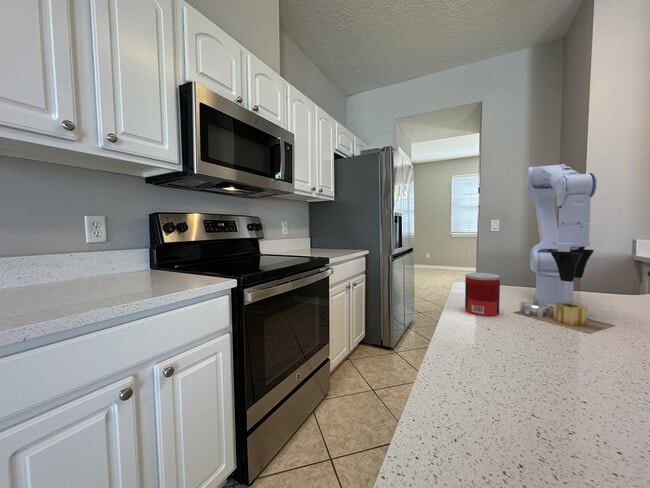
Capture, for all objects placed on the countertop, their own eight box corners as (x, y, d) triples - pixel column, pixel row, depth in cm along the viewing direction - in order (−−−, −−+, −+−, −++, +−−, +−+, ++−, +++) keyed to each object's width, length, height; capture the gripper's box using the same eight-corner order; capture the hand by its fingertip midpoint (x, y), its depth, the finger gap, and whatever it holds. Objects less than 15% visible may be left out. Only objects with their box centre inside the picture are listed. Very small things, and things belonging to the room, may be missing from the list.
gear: (529, 307, 77) (530, 300, 77) (558, 315, 71) (559, 306, 71) (513, 311, 74) (513, 303, 74) (542, 319, 68) (542, 310, 68)
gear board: (538, 310, 78) (538, 294, 78) (615, 329, 63) (616, 310, 63) (512, 316, 74) (512, 299, 73) (589, 338, 59) (589, 317, 59)
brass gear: (589, 323, 65) (590, 306, 65) (580, 328, 62) (581, 310, 62) (559, 316, 70) (559, 300, 69) (549, 321, 67) (550, 304, 66)
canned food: (505, 320, 71) (506, 277, 70) (473, 320, 71) (474, 277, 70) (488, 310, 79) (489, 272, 78) (459, 311, 79) (460, 272, 78)
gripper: (562, 224, 76) (560, 273, 77) (543, 224, 67) (541, 280, 68) (598, 223, 70) (595, 277, 71) (581, 224, 62) (579, 284, 62)
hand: (571, 279), depth 69 cm, fingers open, 7 cm apart
